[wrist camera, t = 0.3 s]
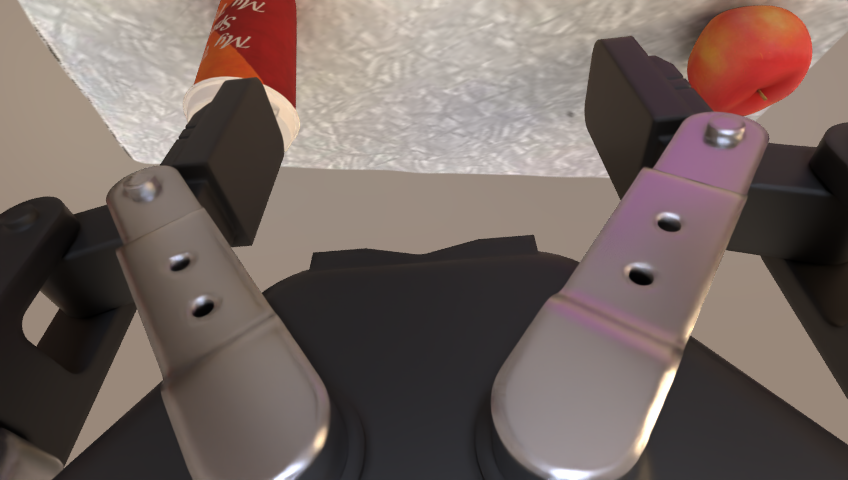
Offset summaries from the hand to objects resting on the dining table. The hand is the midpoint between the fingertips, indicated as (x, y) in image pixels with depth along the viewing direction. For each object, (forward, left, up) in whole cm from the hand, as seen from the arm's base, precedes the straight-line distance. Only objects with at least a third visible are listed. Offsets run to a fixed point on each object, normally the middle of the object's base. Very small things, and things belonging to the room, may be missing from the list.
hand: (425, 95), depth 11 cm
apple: (+39, +2, -30) cm, 50 cm away
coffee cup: (+1, -22, -30) cm, 38 cm away
